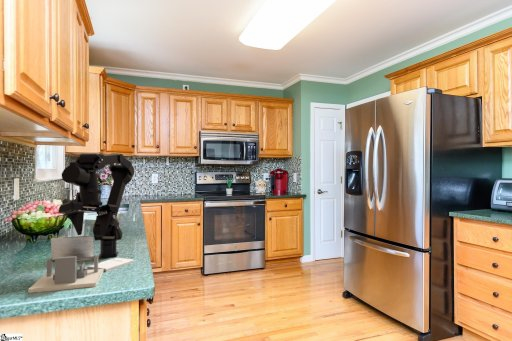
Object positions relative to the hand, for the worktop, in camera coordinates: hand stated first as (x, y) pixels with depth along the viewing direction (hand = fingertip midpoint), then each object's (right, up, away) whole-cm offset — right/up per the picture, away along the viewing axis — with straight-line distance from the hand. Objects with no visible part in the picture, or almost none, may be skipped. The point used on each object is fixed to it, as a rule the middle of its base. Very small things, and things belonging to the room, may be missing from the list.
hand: (91, 234), depth 103 cm
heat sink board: (0, -11, -12) cm, 16 cm away
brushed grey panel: (-2, -6, -8) cm, 10 cm away
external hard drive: (+4, -12, +5) cm, 14 cm away
